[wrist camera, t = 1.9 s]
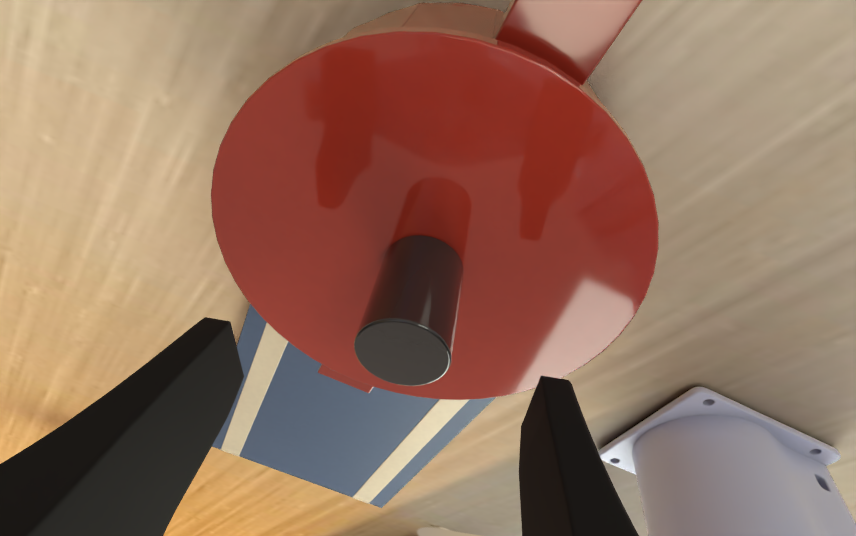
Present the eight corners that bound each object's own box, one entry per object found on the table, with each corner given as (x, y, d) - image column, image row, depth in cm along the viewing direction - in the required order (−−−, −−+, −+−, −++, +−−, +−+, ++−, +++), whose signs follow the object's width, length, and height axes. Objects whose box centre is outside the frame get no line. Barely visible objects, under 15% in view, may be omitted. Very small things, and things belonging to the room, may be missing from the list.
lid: (763, 177, 12) (860, 297, 9) (500, 416, 20) (497, 528, 17) (283, -99, 10) (158, -85, 6) (202, 291, 18) (126, 391, 14)
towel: (512, 375, 26) (512, 382, 25) (382, 503, 37) (381, 508, 37) (263, 267, 23) (259, 273, 23) (208, 439, 35) (205, 444, 35)
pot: (750, 35, 14) (845, 99, 10) (473, 352, 25) (464, 447, 21) (392, -192, 12) (328, -227, 8) (256, 258, 23) (199, 342, 19)
